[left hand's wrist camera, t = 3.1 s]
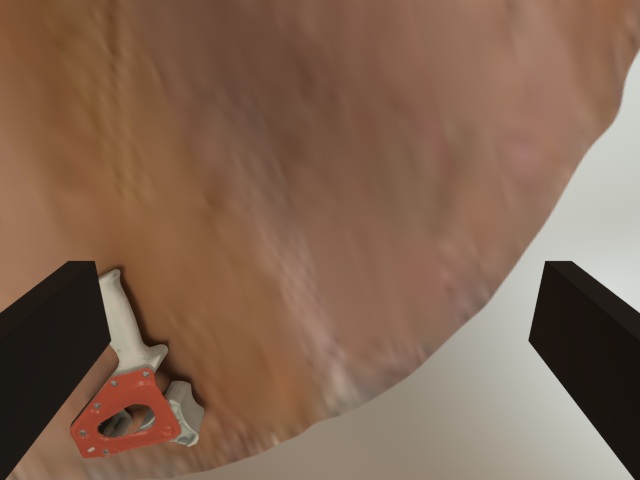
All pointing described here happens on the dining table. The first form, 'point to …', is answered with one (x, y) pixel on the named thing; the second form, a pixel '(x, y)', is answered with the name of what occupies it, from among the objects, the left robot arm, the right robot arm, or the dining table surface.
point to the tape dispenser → (133, 390)
